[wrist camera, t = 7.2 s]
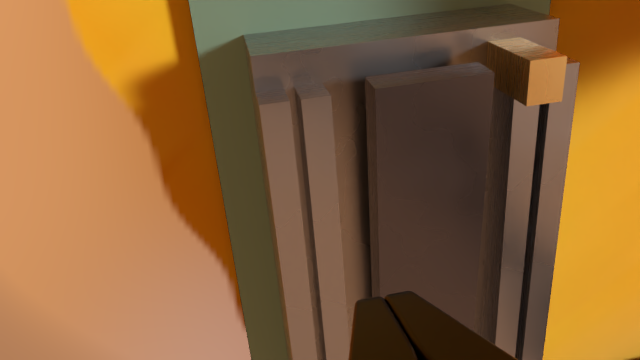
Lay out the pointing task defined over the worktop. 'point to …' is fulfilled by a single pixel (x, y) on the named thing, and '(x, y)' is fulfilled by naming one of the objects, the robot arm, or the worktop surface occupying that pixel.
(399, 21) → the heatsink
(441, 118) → the dark brown flat bar
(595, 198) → the worktop surface
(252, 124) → the board
